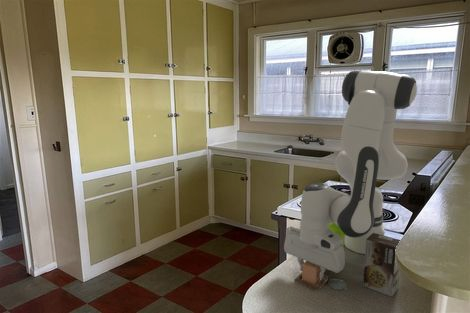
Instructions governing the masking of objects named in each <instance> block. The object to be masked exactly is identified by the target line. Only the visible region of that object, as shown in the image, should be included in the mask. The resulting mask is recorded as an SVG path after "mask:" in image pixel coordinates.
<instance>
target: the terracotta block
mask: <svg viewBox="0 0 470 313" xmlns="http://www.w3.org/2000/svg"><path fill="white" fill-rule="evenodd" d="M319 271H321V269H320V266H318V265H315V264H313V263H310V262H308V261H304V264H303V270H302V271H301V272H302V279H301V280H303V281H306V282H309V283H312V284H315V285H317V284H318V283H319V282H320V281H321V279H320V278H318V277H317V272H319Z"/></svg>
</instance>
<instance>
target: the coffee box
mask: <svg viewBox="0 0 470 313" xmlns="http://www.w3.org/2000/svg"><path fill="white" fill-rule="evenodd" d="M384 235H385V234H384ZM384 235H380V234H376V233H372V234H371V235H370V236H369V237H368V238H367V239H366V248H365V254H364V264H363V276H362V277H363V279H362V286H363V287H365V288H367V289H371V290H372V291H373V290H374V291H376V292H379V293H381V294H384V295H387V296H389V297H393V296H394V294H395V293H396V292H397V290H398V289H399V288H398V287H399V280H400V279H399V277H400V269H399V268H398V267H397V265H396V263H395V249H396V246H397V245H398V243H399V241H400V240H401V239H397V238H396V237H395V238H394V237H391V236H388V235H386V236H384ZM387 236H388V237H387Z"/></svg>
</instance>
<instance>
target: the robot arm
mask: <svg viewBox="0 0 470 313" xmlns="http://www.w3.org/2000/svg"><path fill="white" fill-rule="evenodd" d="M417 93H418V86H417V80H416V79H415V78H414V77H413V76H411V75H409V74H404V73H403V74H400V73H396V72H391V71H374V70H373V71H372V70H371V71H370V70H365V71H362V70H358V69H357V70H350V72H348V73H347V74H346V75H345V77H344V78H343V82H342V85H341V95H342V98H343V99H344V101H345V102H347V105H348V108H347V111H346V114H345V117H344V120H343V124H342V129H341V134H340V146H341V148H342V149H343V150H342V151H339V153H338V154H337V156H336V157H335V160H334V167H335V170H336V172H337V173H338V175H340V176H341V177H342V178H343V179H344V180H345V181H346V182H347V184H348V185H349V188H350V194H348V193H346V192H343V191H339V190H336V189H334V188H332V187H331V186H330V185H329V184H327V183H324V182H313V183H310V184H308V185H306V186H305V187H303V191H302V194H301V199H300V202H301V203H300V214H301V218H300V222H299V228H298V227H297V228H296V227H294V226H289V227H286V229H285V238H284V244H283V250H284V252H285V254H288V255H291V256H292V257H295V258H296V259H297V260H296V261H297V262H298V264H299V268H300V269H299V270H300V271H301V272H302V270H303V264H304V263H305V262H306V261H308V262H310V263H313V264H315V265H318V266H320V269H321V270H322V271H319V272H317V277H318V278H320V279H322V278H323V277H324V275H325V272H326V271H327V270H329V271H331V272H334V273H336V274H337V273H340V272H341V271H342V270H344V268H345V264H346V262H345V259H346V255H345V248H344V249H343V247H342V246H341V245H342V244H343V238H342V237H341V236H339V235H337V234H336V233H334V232H333V231H332V230H330V229H329V224H330V223H335V224H336V225H338V227H339V228H340V229H341V230H342V232H343V233H344V234H345V243H344V247H346V249H349V251H352V252H354V253H357V254H363V255H365V248H366V239H367V238H368V237H369V236H370V235H371V234H372V233H376V234H380V235H384V236H387V237H389V236H388V235H386V233H385V228H386V227H385V225H384V224H383V223H384V217H383V214H384V212H383V203H384V196H383V194H382V192H381V191H380V190H379V189H378V188H376V186H377V181H378V180H384V181H385V180H386V181H387V180H388V181H389V180H395V179H401V178H403V177H404V176H405V174H406V173H407V171H408V167H409V164H408V159H407V157H406V156H405V154H404V153H402V152H401V151H400V150H399V149H398V148H397V147H396V145H395V142H394V130H395V124H396V119H397V112H398V110H405V109H406V108H409V107H411V104H412V103H413V102H414V100H415V99H416V96H417Z"/></svg>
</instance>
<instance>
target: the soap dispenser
mask: <svg viewBox="0 0 470 313" xmlns="http://www.w3.org/2000/svg"><path fill="white" fill-rule="evenodd" d="M329 229H330V230H332V231H333V232H334V233H336V234H337V235H339V236H341V237H342V238H343V244H342V245H341V246H342V247H343V249H344V250H345V244H344V243H345V234H344V233H343V232H342V230H341V229H340V228H339V227H338V225H336V224H335V223H330V224H329Z"/></svg>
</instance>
